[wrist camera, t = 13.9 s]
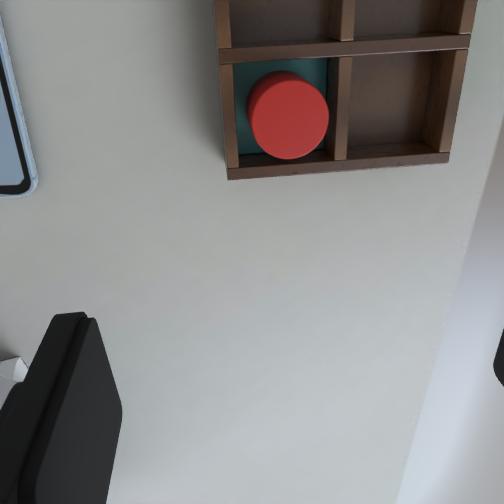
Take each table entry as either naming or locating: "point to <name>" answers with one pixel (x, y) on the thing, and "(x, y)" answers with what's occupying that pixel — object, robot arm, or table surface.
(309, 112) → the red cylinder
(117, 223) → the table surface
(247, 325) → the table surface
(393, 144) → the grid
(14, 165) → the smartphone
